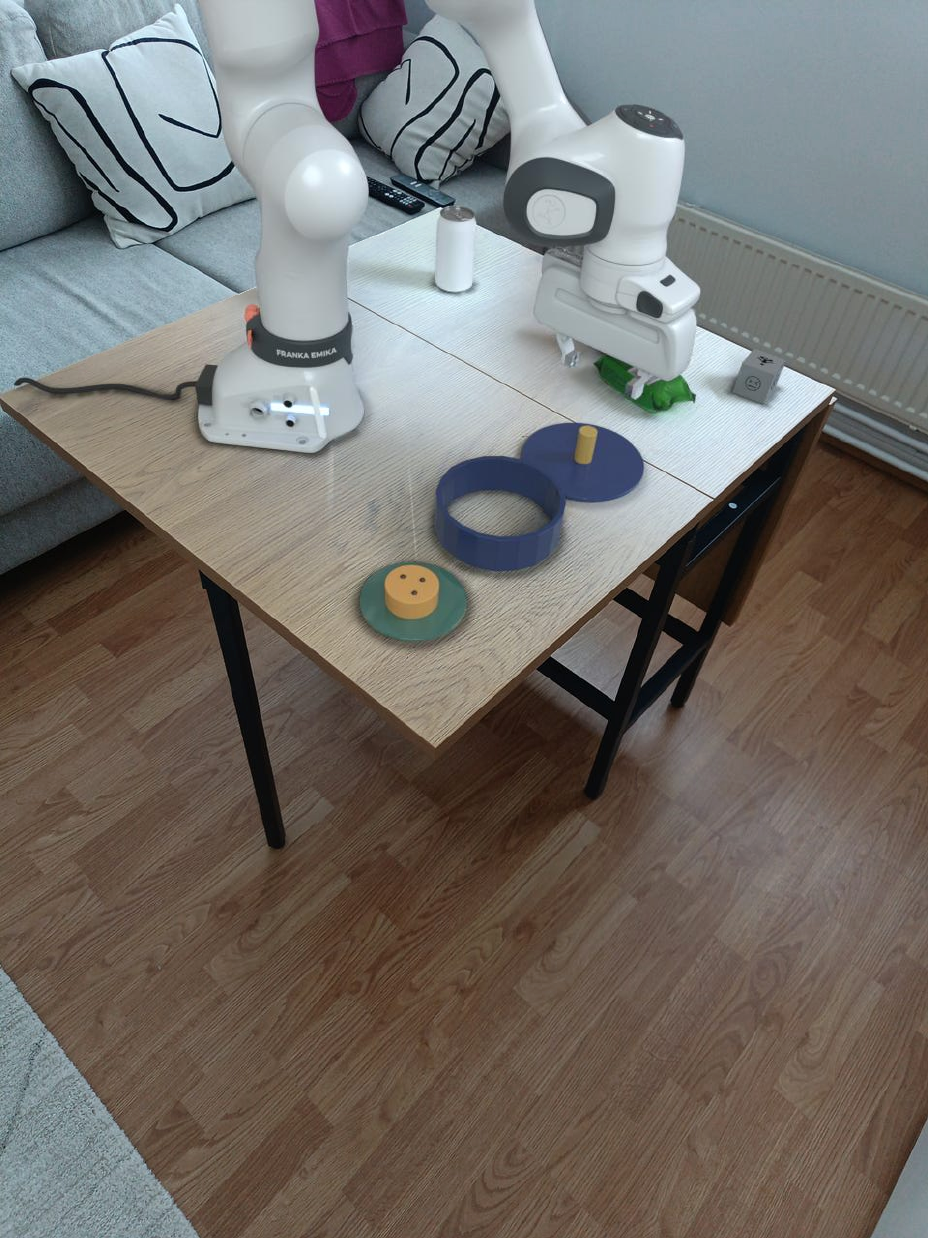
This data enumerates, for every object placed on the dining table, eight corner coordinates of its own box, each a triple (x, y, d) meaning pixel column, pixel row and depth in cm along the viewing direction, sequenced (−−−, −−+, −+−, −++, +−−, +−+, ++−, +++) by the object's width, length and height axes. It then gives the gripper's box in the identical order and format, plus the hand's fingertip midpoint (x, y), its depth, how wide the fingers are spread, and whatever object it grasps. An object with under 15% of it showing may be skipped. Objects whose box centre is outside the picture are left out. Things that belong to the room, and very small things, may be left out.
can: (456, 271, 152) (460, 200, 143) (480, 286, 149) (485, 215, 140) (426, 281, 149) (428, 210, 140) (450, 297, 146) (454, 225, 137)
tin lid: (530, 507, 111) (535, 471, 107) (513, 429, 122) (517, 394, 118) (655, 505, 113) (665, 469, 109) (627, 428, 124) (635, 394, 119)
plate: (360, 646, 94) (360, 641, 93) (359, 567, 102) (359, 562, 101) (471, 642, 95) (471, 637, 95) (461, 565, 103) (461, 560, 103)
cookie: (385, 620, 96) (385, 602, 94) (383, 581, 100) (383, 563, 98) (440, 618, 96) (441, 601, 94) (436, 580, 100) (437, 562, 98)
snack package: (658, 429, 124) (667, 398, 120) (587, 375, 132) (593, 344, 128) (693, 415, 127) (703, 384, 123) (621, 363, 135) (628, 332, 131)
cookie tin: (439, 576, 102) (441, 541, 98) (430, 490, 112) (431, 456, 108) (568, 572, 103) (575, 538, 99) (548, 489, 114) (554, 454, 110)
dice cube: (775, 389, 133) (786, 360, 129) (763, 404, 130) (774, 374, 126) (744, 377, 135) (754, 348, 131) (732, 392, 132) (742, 362, 128)
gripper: (529, 250, 99) (518, 357, 110) (684, 315, 91) (657, 425, 102) (561, 232, 103) (547, 338, 113) (714, 293, 95) (684, 402, 105)
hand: (600, 379), depth 107 cm, fingers open, 8 cm apart
